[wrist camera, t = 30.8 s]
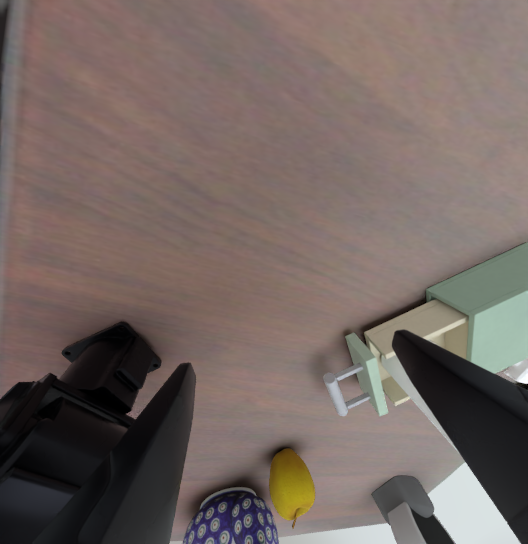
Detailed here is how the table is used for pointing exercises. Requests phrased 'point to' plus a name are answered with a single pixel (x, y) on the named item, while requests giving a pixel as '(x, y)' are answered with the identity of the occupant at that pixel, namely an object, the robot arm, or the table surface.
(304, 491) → the apple
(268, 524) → the teapot
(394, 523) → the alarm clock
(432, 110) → the table surface
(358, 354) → the drawer
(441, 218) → the table surface
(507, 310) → the cabinet
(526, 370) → the toy car
